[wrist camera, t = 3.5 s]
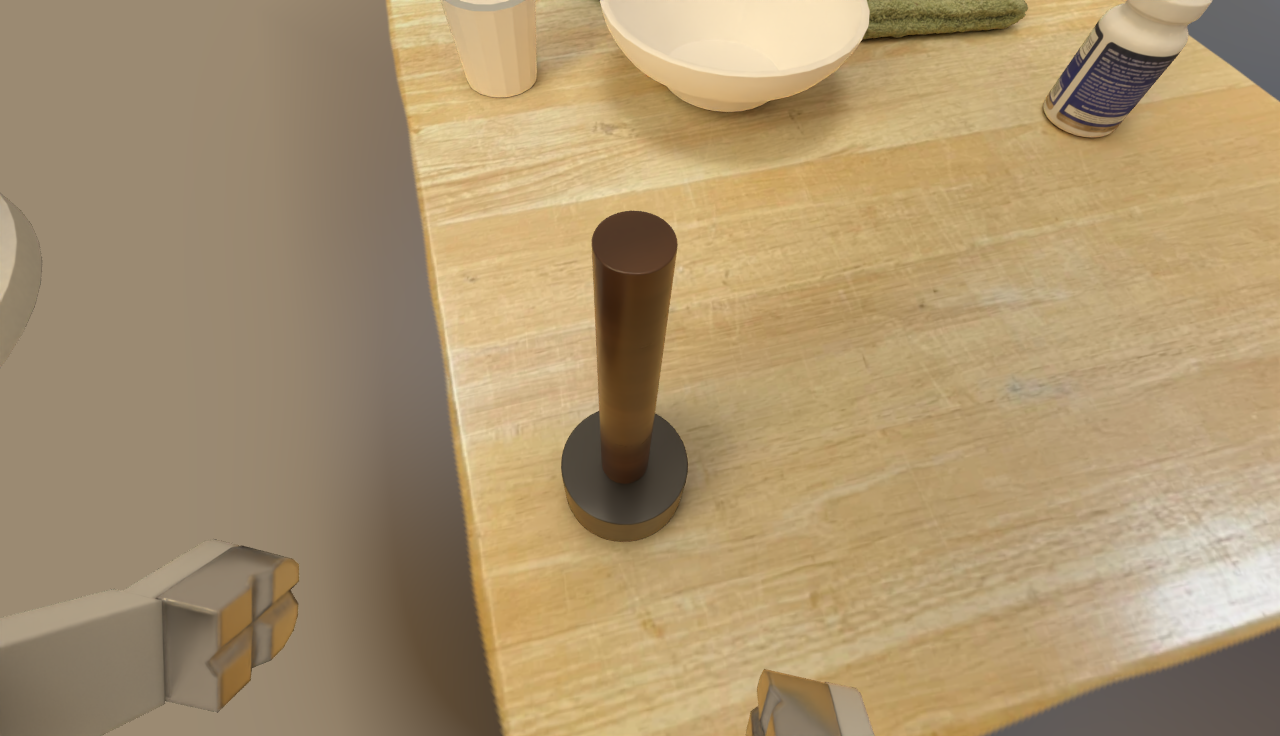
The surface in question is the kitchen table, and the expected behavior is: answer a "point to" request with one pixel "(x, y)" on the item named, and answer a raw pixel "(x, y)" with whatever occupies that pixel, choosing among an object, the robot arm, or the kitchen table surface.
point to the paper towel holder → (628, 388)
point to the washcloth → (940, 16)
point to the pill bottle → (1119, 64)
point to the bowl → (736, 45)
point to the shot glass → (495, 43)
